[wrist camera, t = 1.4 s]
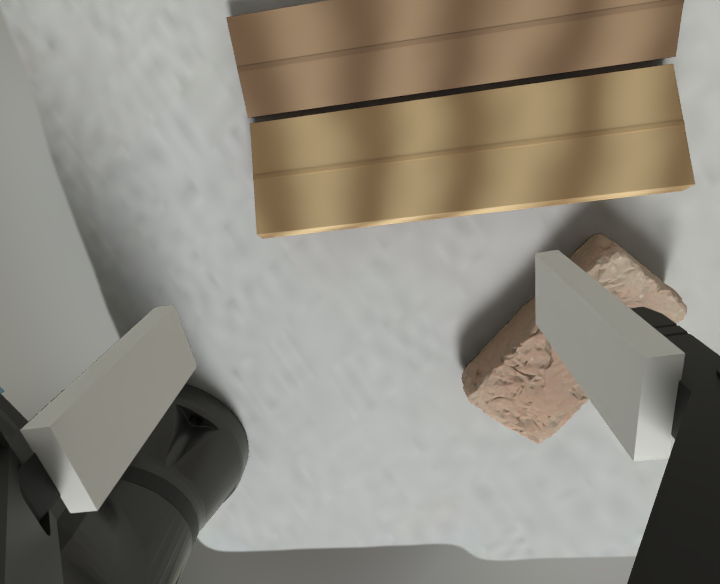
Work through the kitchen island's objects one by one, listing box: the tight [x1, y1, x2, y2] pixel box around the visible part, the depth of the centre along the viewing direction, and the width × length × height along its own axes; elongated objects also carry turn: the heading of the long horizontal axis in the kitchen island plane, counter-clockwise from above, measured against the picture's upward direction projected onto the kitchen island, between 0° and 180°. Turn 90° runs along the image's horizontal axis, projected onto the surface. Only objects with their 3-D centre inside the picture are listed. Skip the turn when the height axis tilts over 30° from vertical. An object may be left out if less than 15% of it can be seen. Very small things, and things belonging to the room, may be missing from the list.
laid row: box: [226, 0, 684, 118], centre depth 28 cm, size 28×6×1 cm, turn 97°
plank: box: [250, 64, 695, 238], centre depth 29 cm, size 28×8×1 cm
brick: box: [462, 234, 687, 444], centre depth 35 cm, size 17×8×5 cm, turn 145°
